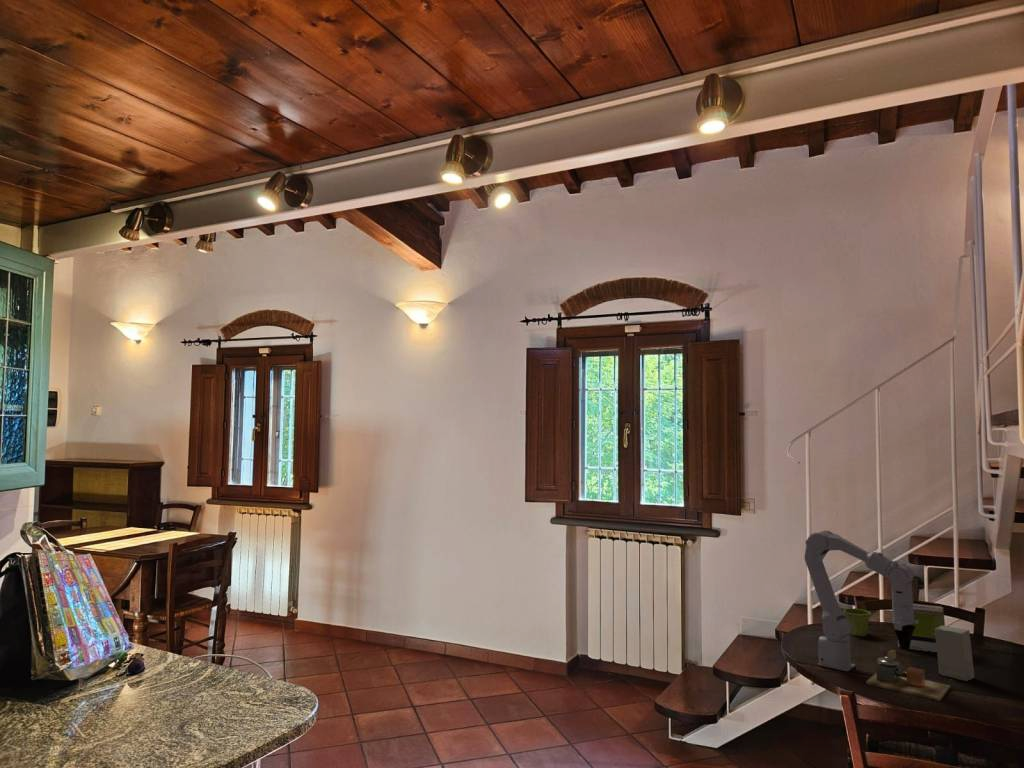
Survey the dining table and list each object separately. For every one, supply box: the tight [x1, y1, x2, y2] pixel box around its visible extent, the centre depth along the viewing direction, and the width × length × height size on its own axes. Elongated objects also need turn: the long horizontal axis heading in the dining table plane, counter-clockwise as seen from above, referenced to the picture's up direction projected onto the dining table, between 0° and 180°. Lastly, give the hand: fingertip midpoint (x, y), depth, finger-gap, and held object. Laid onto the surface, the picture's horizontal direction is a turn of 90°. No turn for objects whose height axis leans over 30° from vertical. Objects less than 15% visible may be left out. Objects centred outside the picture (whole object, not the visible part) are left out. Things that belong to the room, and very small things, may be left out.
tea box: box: [897, 603, 946, 653], centre depth 241 cm, size 15×10×15 cm, turn 58°
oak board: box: [866, 672, 951, 702], centre depth 203 cm, size 20×14×1 cm
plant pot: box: [843, 608, 872, 637], centre depth 258 cm, size 9×9×9 cm
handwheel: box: [876, 649, 900, 666], centre depth 208 cm, size 8×6×3 cm
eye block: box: [875, 662, 902, 684], centre depth 207 cm, size 5×7×5 cm
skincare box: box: [935, 625, 975, 682], centre depth 212 cm, size 8×6×15 cm
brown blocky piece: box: [896, 666, 926, 687], centre depth 205 cm, size 12×4×4 cm, turn 46°
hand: (905, 649), depth 207 cm, fingers closed
